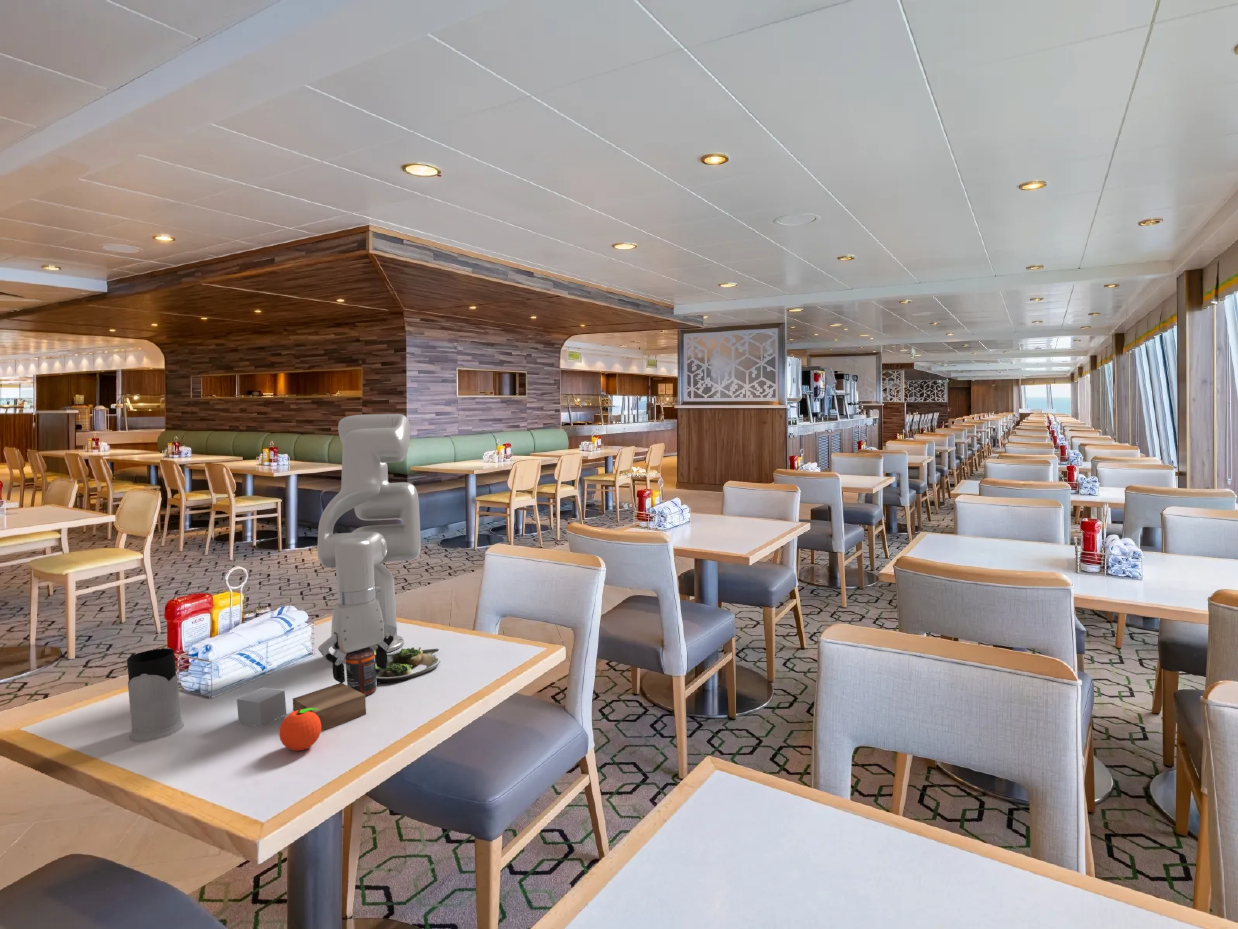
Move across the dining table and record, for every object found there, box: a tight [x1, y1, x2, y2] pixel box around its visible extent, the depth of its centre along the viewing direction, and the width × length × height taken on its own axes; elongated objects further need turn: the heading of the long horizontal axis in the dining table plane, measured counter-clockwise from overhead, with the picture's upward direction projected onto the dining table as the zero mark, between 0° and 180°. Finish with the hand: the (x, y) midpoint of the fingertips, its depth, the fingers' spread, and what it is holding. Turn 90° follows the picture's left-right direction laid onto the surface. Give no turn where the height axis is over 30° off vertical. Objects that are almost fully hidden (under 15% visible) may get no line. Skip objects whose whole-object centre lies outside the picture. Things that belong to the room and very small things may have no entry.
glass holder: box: [126, 647, 185, 742], centre depth 134 cm, size 9×14×15 cm, turn 15°
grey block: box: [236, 686, 287, 728], centre depth 135 cm, size 6×6×5 cm
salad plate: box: [374, 646, 441, 684], centre depth 162 cm, size 19×18×5 cm
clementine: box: [278, 708, 325, 752], centre depth 123 cm, size 8×7×7 cm
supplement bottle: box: [344, 647, 378, 697], centre depth 147 cm, size 6×6×11 cm
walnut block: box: [292, 682, 367, 732], centre depth 136 cm, size 10×10×4 cm
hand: (361, 674), depth 147 cm, fingers open, 9 cm apart
